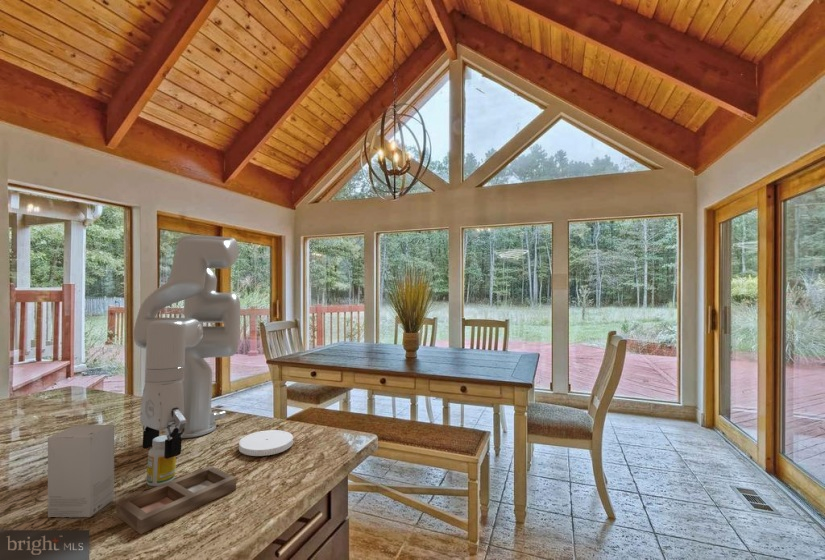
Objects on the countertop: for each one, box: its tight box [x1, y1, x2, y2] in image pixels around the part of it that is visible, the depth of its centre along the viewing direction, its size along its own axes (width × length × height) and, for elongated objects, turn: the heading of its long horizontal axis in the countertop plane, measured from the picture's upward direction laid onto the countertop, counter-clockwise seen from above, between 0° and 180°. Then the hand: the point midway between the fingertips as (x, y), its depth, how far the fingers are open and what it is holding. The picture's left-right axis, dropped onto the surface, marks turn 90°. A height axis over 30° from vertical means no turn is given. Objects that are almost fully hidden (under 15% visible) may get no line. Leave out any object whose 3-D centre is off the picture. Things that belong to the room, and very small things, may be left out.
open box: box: [115, 465, 237, 535], centre depth 78 cm, size 18×10×2 cm, turn 148°
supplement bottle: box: [146, 434, 177, 487], centre depth 87 cm, size 5×5×10 cm
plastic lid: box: [238, 429, 294, 457], centre depth 106 cm, size 14×14×2 cm
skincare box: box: [47, 424, 115, 518], centre depth 75 cm, size 8×7×16 cm
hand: (161, 451), depth 86 cm, fingers open, 9 cm apart
